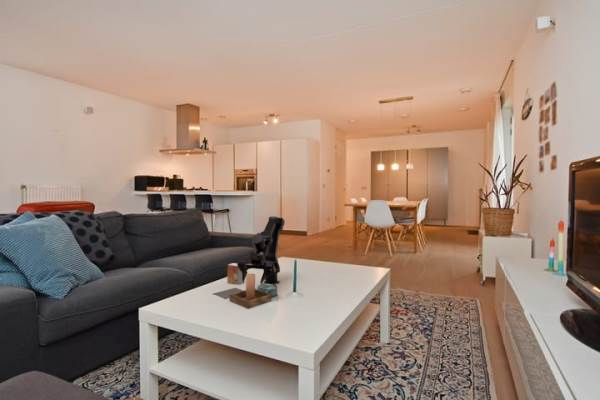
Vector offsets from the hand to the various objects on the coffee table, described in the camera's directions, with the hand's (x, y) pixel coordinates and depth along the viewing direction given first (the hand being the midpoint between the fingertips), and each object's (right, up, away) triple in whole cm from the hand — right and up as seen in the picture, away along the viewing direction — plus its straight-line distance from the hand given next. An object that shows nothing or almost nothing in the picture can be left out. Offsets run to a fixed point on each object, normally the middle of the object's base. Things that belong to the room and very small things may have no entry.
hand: (251, 282), depth 153 cm
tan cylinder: (0, -9, -1) cm, 9 cm away
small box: (-14, -8, +30) cm, 34 cm away
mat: (-12, -9, +10) cm, 18 cm away
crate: (-1, -9, -1) cm, 9 cm away
